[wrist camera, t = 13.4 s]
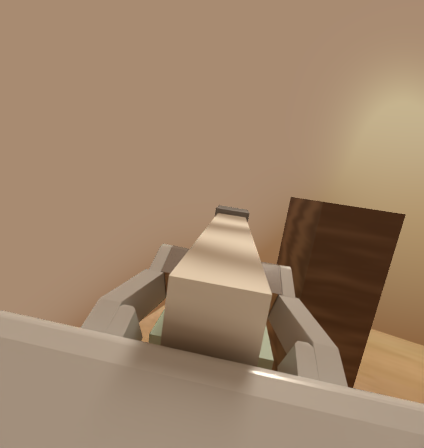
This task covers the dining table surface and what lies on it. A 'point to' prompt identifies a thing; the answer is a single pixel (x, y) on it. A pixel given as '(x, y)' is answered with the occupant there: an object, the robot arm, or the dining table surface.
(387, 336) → the dining table surface
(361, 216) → the brown wooden block
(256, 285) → the baton
